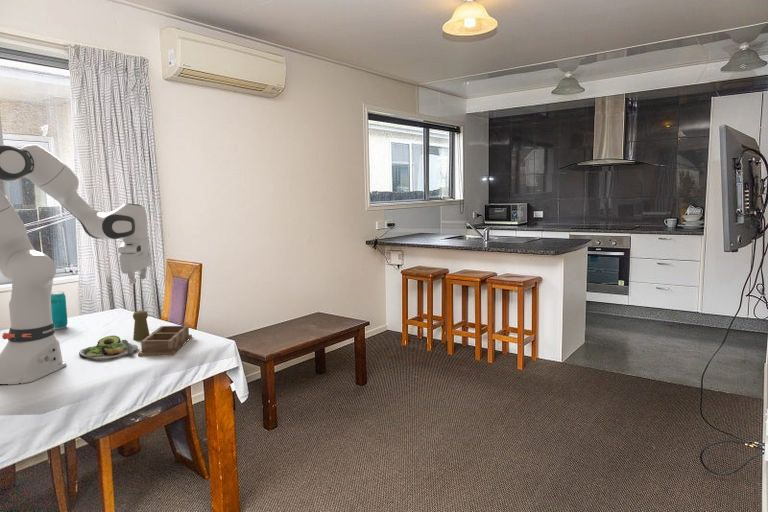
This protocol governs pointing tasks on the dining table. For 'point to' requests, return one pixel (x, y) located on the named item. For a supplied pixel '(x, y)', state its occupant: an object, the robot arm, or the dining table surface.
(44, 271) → the robot arm
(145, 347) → the walnut rack
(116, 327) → the dining table surface
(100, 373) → the dining table surface
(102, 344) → the salad plate
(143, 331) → the cork
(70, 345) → the dining table surface
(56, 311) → the beverage can
